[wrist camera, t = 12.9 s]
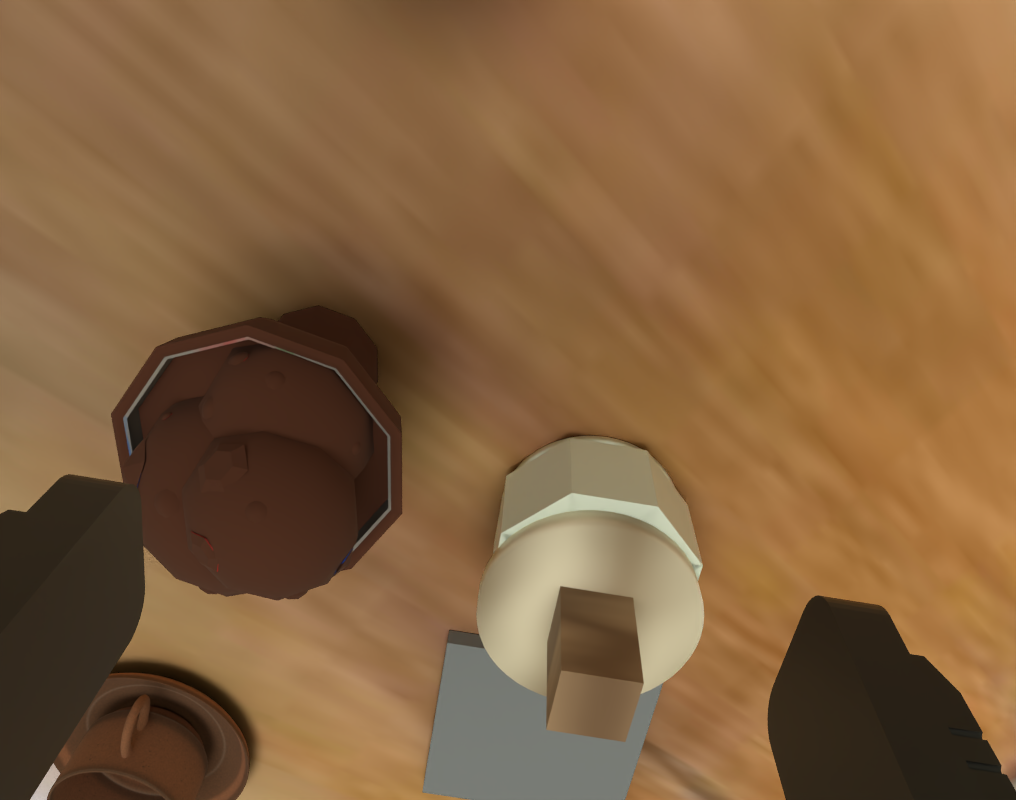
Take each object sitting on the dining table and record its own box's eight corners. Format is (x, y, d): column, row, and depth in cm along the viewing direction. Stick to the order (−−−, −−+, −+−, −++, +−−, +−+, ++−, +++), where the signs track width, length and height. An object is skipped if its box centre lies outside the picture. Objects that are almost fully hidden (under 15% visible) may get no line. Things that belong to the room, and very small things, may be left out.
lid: (464, 666, 41) (450, 775, 35) (496, 493, 36) (486, 586, 31) (669, 698, 41) (687, 811, 36) (726, 530, 37) (757, 629, 31)
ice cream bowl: (336, 201, 37) (211, 332, 23) (480, 398, 41) (445, 608, 27) (158, 323, 40) (-45, 502, 26) (308, 496, 44) (199, 729, 30)
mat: (424, 778, 52) (422, 792, 52) (449, 630, 47) (447, 642, 46) (616, 807, 53) (617, 821, 52) (663, 663, 47) (665, 676, 46)
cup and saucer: (32, 658, 50) (-33, 744, 44) (230, 648, 49) (189, 734, 43) (98, 799, 55) (47, 891, 50) (278, 792, 54) (247, 886, 48)
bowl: (488, 569, 45) (480, 642, 40) (515, 421, 41) (510, 482, 36) (655, 596, 45) (667, 672, 40) (699, 451, 41) (719, 516, 36)
